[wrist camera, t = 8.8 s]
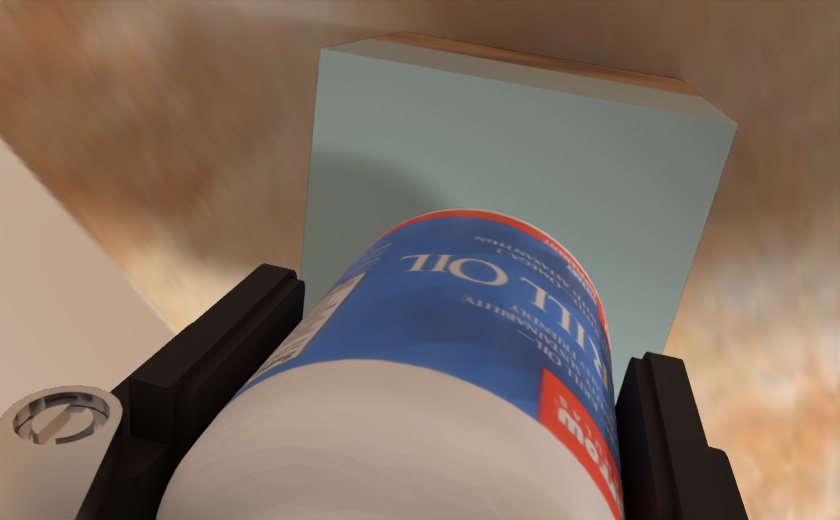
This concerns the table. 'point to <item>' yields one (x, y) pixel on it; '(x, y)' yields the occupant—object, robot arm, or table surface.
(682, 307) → the table surface
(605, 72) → the tower base
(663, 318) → the tower top
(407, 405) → the pill bottle
